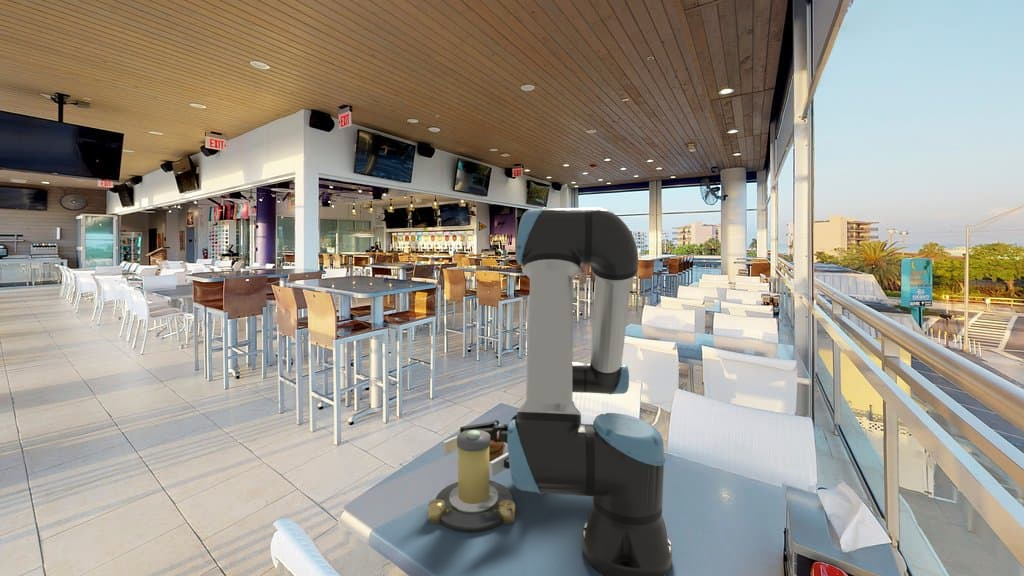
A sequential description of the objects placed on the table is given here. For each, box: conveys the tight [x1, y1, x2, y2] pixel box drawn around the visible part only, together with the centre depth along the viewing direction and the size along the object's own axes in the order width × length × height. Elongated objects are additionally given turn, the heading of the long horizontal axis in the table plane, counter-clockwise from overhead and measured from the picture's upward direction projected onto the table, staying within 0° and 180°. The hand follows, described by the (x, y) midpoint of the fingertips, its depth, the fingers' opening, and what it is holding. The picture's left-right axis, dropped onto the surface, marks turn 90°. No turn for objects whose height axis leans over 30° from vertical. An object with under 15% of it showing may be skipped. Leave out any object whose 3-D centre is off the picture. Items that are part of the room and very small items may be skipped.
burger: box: [489, 433, 506, 461], centre depth 110 cm, size 10×9×5 cm
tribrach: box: [427, 479, 516, 533], centre depth 85 cm, size 17×18×3 cm
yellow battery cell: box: [456, 430, 490, 504], centre depth 85 cm, size 7×7×13 cm
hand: (466, 458), depth 84 cm, fingers open, 13 cm apart
